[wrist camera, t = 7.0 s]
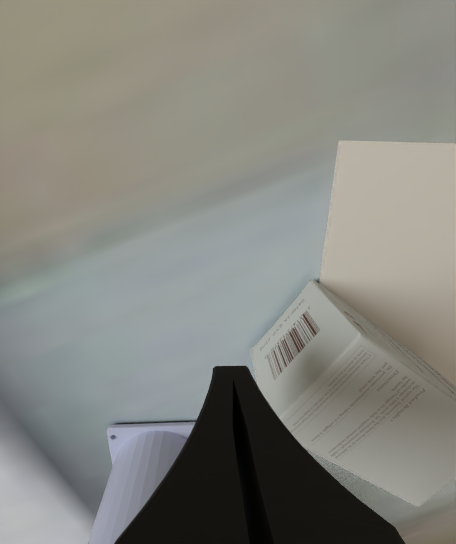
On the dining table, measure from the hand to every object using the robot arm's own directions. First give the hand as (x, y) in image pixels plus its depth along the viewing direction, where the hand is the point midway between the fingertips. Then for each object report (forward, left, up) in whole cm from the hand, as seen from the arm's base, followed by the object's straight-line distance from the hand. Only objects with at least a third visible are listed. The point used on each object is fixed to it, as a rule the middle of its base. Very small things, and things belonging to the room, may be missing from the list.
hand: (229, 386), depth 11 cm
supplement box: (-1, -4, -5) cm, 7 cm away
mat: (0, -14, -9) cm, 17 cm away
